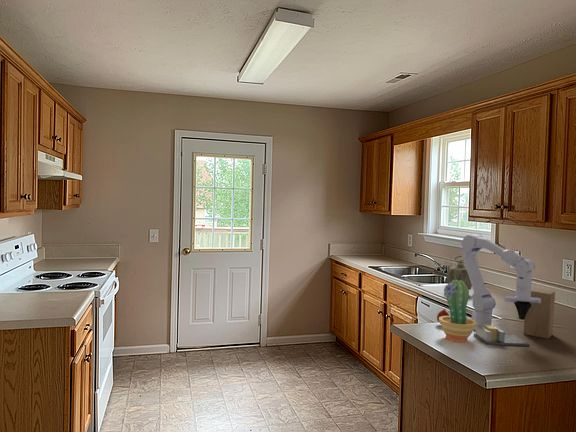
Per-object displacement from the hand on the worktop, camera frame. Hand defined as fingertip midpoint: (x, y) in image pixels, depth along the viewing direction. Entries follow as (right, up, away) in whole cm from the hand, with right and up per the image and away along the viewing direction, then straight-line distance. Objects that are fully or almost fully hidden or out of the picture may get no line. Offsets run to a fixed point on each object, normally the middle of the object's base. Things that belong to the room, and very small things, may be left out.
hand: (521, 319), depth 193 cm
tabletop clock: (+10, -7, +97) cm, 97 cm away
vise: (-9, -9, -1) cm, 13 cm away
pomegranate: (-27, -8, +20) cm, 34 cm away
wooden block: (+13, -10, +12) cm, 20 cm away
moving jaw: (-11, -8, -1) cm, 14 cm away
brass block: (-14, -8, -1) cm, 16 cm away
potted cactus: (-28, -8, -1) cm, 29 cm away
